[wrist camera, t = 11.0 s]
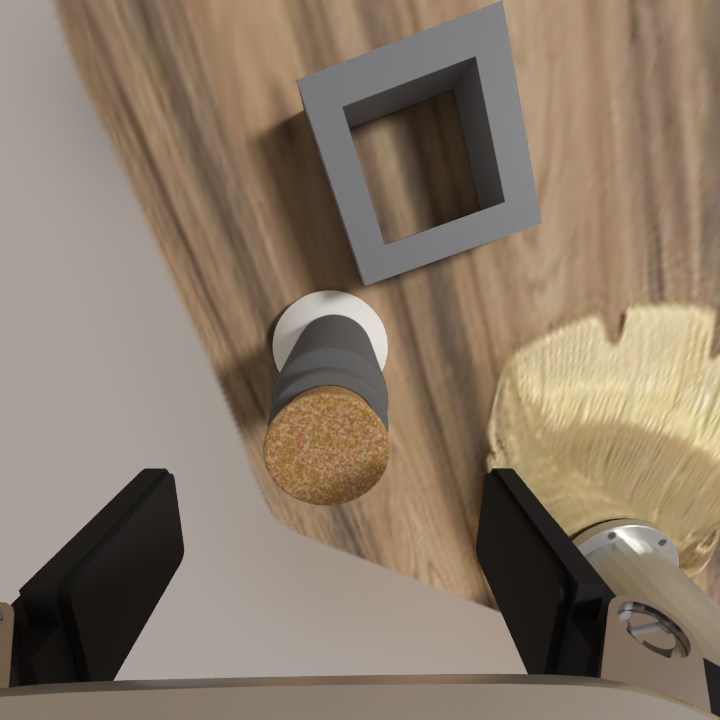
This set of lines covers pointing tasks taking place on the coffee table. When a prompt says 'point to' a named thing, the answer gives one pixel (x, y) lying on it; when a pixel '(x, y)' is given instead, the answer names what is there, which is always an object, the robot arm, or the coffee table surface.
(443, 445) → the coffee table surface
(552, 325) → the coffee table surface
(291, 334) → the white round part
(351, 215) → the square frame
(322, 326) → the bottle
